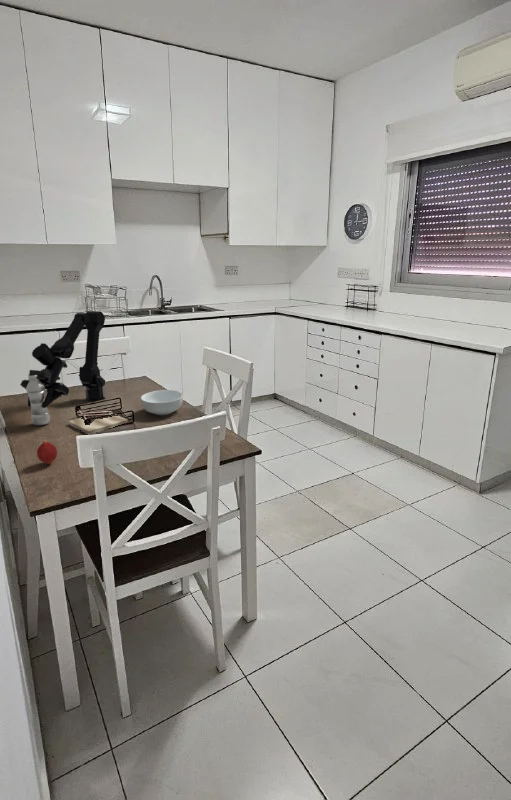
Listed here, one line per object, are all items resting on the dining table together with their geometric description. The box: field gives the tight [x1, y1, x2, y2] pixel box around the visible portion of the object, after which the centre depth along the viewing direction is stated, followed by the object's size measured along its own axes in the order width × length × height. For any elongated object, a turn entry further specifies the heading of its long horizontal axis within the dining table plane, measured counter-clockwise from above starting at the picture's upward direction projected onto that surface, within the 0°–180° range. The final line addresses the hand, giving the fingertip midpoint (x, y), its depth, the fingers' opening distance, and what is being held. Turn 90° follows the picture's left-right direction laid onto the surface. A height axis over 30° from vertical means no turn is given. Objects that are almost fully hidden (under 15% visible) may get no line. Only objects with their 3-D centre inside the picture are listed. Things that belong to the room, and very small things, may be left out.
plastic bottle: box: [25, 373, 51, 426], centre depth 177 cm, size 6×7×20 cm
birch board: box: [68, 415, 129, 435], centre depth 179 cm, size 16×16×2 cm
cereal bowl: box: [140, 389, 184, 416], centre depth 191 cm, size 17×17×7 cm
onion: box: [36, 440, 58, 465], centre depth 145 cm, size 6×6×8 cm
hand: (36, 406), depth 177 cm, fingers open, 6 cm apart
